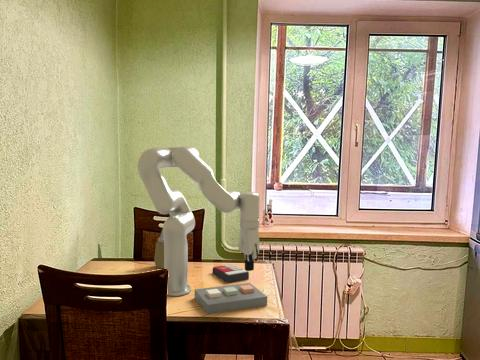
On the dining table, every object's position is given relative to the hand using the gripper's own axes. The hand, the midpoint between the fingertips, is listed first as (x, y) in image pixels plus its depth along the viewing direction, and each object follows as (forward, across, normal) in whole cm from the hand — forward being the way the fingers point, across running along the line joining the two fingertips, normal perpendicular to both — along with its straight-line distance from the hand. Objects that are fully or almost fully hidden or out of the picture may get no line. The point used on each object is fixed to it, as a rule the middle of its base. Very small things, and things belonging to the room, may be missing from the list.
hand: (249, 270), depth 162 cm
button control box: (+12, -28, +4) cm, 31 cm away
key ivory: (+9, -1, -15) cm, 17 cm away
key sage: (+9, -1, -8) cm, 12 cm away
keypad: (+12, -1, -8) cm, 14 cm away
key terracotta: (+10, -1, -1) cm, 10 cm away
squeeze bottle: (+11, -51, -23) cm, 57 cm away
